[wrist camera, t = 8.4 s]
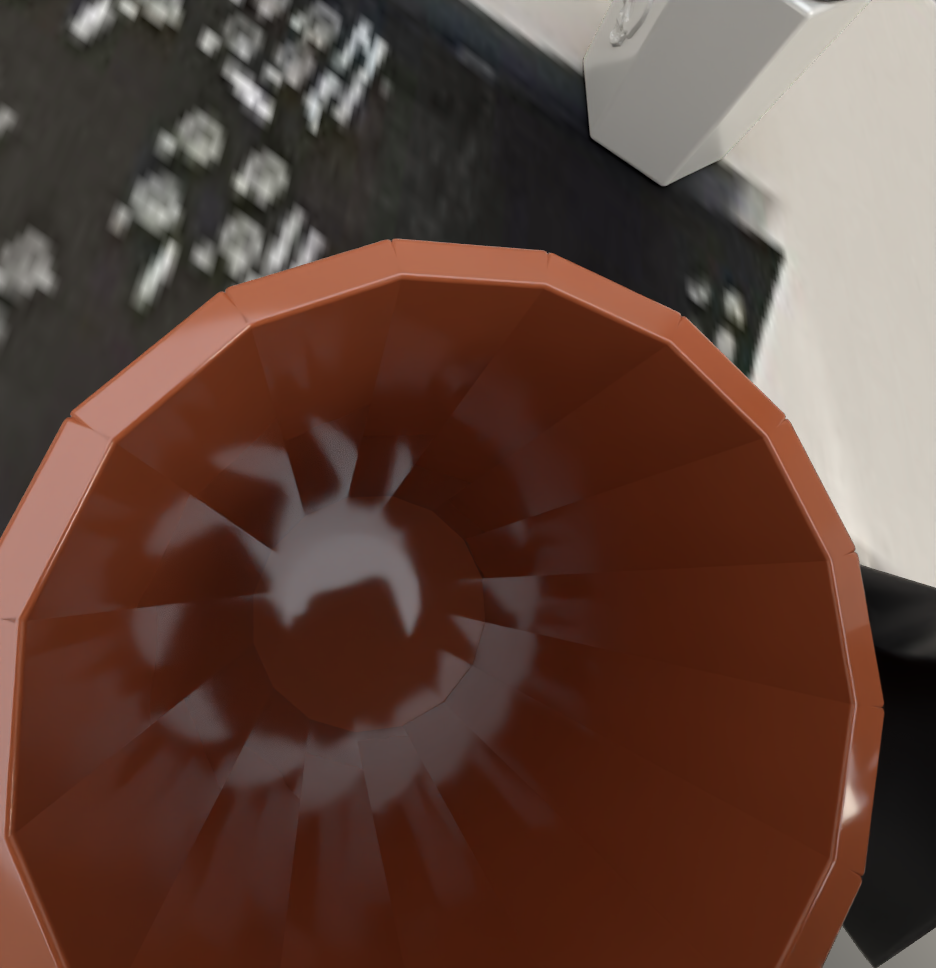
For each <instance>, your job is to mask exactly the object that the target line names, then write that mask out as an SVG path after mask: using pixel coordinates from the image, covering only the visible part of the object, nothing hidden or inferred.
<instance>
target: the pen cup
mask: <svg viewBox="0 0 936 968" xmlns="http://www.w3.org/2000/svg"><path fill="white" fill-rule="evenodd" d="M70 415H71V417H72V418H66V419H65V420H64V421H63V423H62V425H61V427H60V429H59V431H58V433H57V434H56V436H55V438H54V440H53V442H52V444H51V446H50V447H49V449H48V451H47V453H46V455H45V457H44V458H43V460H42V462H41V464H40V466H39V468H38V470H37V471H36V473H35V475H34V477H33V479H32V481H31V483H30V484H29V486H28V488H27V490H26V492H25V494H24V496H23V497H22V499H21V501H20V503H19V505H18V507H17V508H16V510H15V512H14V514H13V516H12V518H11V520H10V521H9V523H8V525H7V527H6V529H5V531H4V533H3V534H2V536H1V538H0V968H822V967H823V965H824V963H825V961H826V959H827V956H828V954H829V952H830V950H831V948H832V946H833V944H834V942H835V939H836V937H837V935H838V933H839V931H840V929H841V927H842V925H843V923H844V920H845V918H846V916H847V914H848V912H849V910H850V908H851V906H852V903H853V901H854V899H855V897H856V895H857V893H858V891H859V889H860V886H861V884H862V878H861V877H860V876H863V875H864V874H865V868H866V860H867V852H868V844H869V836H870V828H871V820H872V812H873V804H874V796H875V788H876V780H877V771H878V763H879V755H880V747H881V739H882V731H883V723H884V715H885V712H884V709H883V708H881V707H883V706H884V697H883V692H882V686H881V680H880V675H879V669H878V664H877V658H876V653H875V647H874V641H873V636H872V630H871V625H870V619H869V613H868V608H867V602H866V597H865V591H864V586H863V580H862V574H861V569H860V563H859V558H858V554H857V553H856V552H854V551H855V546H854V544H853V542H852V540H851V538H850V536H849V534H848V532H847V530H846V528H845V526H844V524H843V522H842V521H841V519H840V517H839V515H838V513H837V511H836V509H835V507H834V505H833V503H832V501H831V499H830V497H829V496H828V494H827V492H826V490H825V488H824V486H823V484H822V482H821V480H820V478H819V476H818V474H817V472H816V471H815V469H814V467H813V465H812V463H811V461H810V459H809V457H808V455H807V453H806V451H805V449H804V447H803V446H802V444H801V442H800V440H799V438H798V436H797V434H796V432H795V430H794V428H793V426H792V424H791V422H790V421H789V420H788V419H785V418H786V416H785V414H784V413H783V412H782V411H781V410H780V409H779V408H778V407H777V406H776V405H775V404H774V403H773V402H772V401H771V400H770V399H769V398H768V397H767V396H766V395H765V394H764V393H763V392H762V391H761V390H760V389H759V388H758V387H757V386H756V385H754V384H753V383H752V382H751V381H750V380H749V379H748V378H747V377H746V376H745V375H744V374H743V373H742V372H741V371H740V370H739V369H738V368H737V367H736V366H735V365H734V364H733V363H732V362H731V361H730V360H729V359H728V358H727V357H726V356H725V355H724V354H723V353H722V352H721V351H720V350H719V349H718V348H717V347H716V346H715V345H714V344H713V343H712V342H711V341H710V340H709V339H708V338H707V337H706V336H705V335H704V334H702V333H701V332H700V331H699V330H698V329H697V328H696V327H695V326H694V325H693V324H692V323H691V322H690V321H689V320H688V319H687V318H686V317H684V316H683V317H681V314H680V313H679V312H677V311H675V310H673V309H670V308H668V307H666V306H664V305H662V304H660V303H658V302H656V301H653V300H651V299H649V298H647V297H645V296H643V295H641V294H639V293H636V292H634V291H632V290H630V289H628V288H626V287H624V286H622V285H619V284H617V283H615V282H613V281H611V280H609V279H607V278H605V277H602V276H600V275H598V274H596V273H594V272H592V271H590V270H588V269H585V268H583V267H581V266H579V265H577V264H575V263H573V262H570V261H568V260H566V259H564V258H562V257H560V256H558V255H556V254H553V253H548V254H547V252H545V251H541V250H529V249H517V248H505V247H492V246H480V245H468V244H456V243H443V242H431V241H419V240H406V239H393V240H392V241H390V240H383V241H380V242H377V243H373V244H370V245H367V246H364V247H360V248H357V249H354V250H350V251H347V252H344V253H340V254H337V255H334V256H330V257H327V258H324V259H321V260H317V261H314V262H311V263H307V264H304V265H301V266H297V267H294V268H291V269H287V270H284V271H281V272H278V273H274V274H271V275H268V276H264V277H261V278H258V279H254V280H251V281H248V282H244V283H241V284H238V285H235V286H231V287H228V288H227V289H226V290H225V293H224V292H222V291H221V292H219V293H217V294H216V295H215V296H214V297H212V298H211V299H210V300H209V301H207V302H206V303H205V304H204V305H202V306H201V307H200V308H199V309H197V310H196V311H195V312H194V313H192V314H191V315H190V316H189V317H188V318H186V319H185V320H184V321H183V322H181V323H180V324H179V325H178V326H176V327H175V328H174V329H173V330H171V331H170V332H169V333H168V334H166V335H165V336H164V337H163V338H161V339H160V340H159V341H158V342H157V343H155V344H154V345H153V346H152V347H150V348H149V349H148V350H147V351H145V352H144V353H143V354H142V355H140V356H139V357H138V358H137V359H135V360H134V361H133V362H132V363H131V364H129V365H128V366H127V367H126V368H124V369H123V370H122V371H121V372H119V373H118V374H117V375H116V376H114V377H113V378H112V379H111V380H109V381H108V382H107V383H106V384H105V385H103V386H102V387H101V388H100V389H98V390H97V391H96V392H95V393H93V394H92V395H91V396H90V397H88V398H87V399H86V400H85V401H83V402H82V403H81V404H80V405H78V406H77V407H76V408H75V409H74V410H72V412H71V413H70Z"/></svg>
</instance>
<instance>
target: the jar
mask: <svg viewBox="0 0 936 968" xmlns="http://www.w3.org/2000/svg"><path fill="white" fill-rule="evenodd" d="M871 1H872V0H612V2H611V4H610V6H609V8H608V10H607V12H606V14H605V16H604V18H603V20H602V22H601V24H600V26H599V28H598V30H597V32H596V34H595V36H594V38H593V40H592V42H591V44H590V46H589V48H588V50H587V52H586V54H585V56H584V59H583V66H584V76H585V87H586V98H587V109H588V119H589V131H590V137H591V138H592V139H593V140H594V141H596V142H597V143H599V144H600V145H602V146H603V147H605V148H606V149H608V150H609V151H610V152H612V153H613V154H615V155H616V156H618V157H619V158H621V159H622V160H624V161H625V162H627V163H628V164H630V165H631V166H632V167H634V168H635V169H637V170H638V171H640V172H641V173H643V174H644V175H646V176H647V177H649V178H650V179H651V180H653V181H654V182H656V183H657V184H659V185H660V186H667V185H669V184H671V183H673V182H675V181H677V180H679V179H681V178H683V177H685V176H687V175H689V174H692V173H694V172H696V171H698V170H700V169H702V168H704V167H706V166H708V165H710V164H712V163H714V162H716V161H718V160H721V159H722V158H724V157H725V156H726V155H727V154H728V153H729V152H730V150H731V149H732V148H733V147H734V146H735V145H736V144H737V143H738V142H739V141H740V140H741V139H742V138H743V137H744V136H745V135H746V133H747V132H748V131H749V130H750V129H751V128H752V127H753V126H754V125H755V124H756V123H757V122H758V121H759V120H760V119H761V118H762V116H763V115H764V114H765V113H766V112H767V111H768V110H769V109H770V108H771V107H772V106H773V105H774V104H775V103H776V102H777V101H778V99H779V98H780V97H781V96H782V95H783V94H784V93H785V92H786V91H787V90H788V89H789V88H790V87H791V86H792V85H793V84H794V82H795V81H796V80H797V79H798V78H799V77H800V76H801V75H802V74H803V73H804V72H805V71H806V70H807V69H808V68H809V67H810V65H811V64H812V63H813V62H814V61H815V60H816V59H817V58H818V57H819V56H820V55H821V54H822V53H823V52H824V51H825V50H826V48H827V47H828V46H829V45H830V44H831V43H832V42H833V41H834V40H835V39H836V38H837V37H838V36H839V35H840V34H841V32H842V31H843V30H844V29H845V28H846V27H847V26H848V25H849V24H850V23H851V22H852V21H853V20H854V19H855V18H856V17H857V15H858V14H859V13H860V12H861V11H862V10H863V9H864V8H865V7H866V6H867V5H868V4H869V3H870V2H871Z"/></svg>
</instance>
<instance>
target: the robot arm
mask: <svg viewBox="0 0 936 968" xmlns="http://www.w3.org/2000/svg"><path fill="white" fill-rule="evenodd" d="M860 569H861V574H862V580H863V586H864V591H865V597H866V602H867V608H868V613H869V619H870V625H871V630H872V636H873V641H874V647H875V653H876V658H877V664H878V669H879V675H880V680H881V686H882V692H883V697H884V706H883V707H881V708H883V709H884V712H885V715H884V723H883V731H882V739H881V747H880V755H879V763H878V771H877V780H876V788H875V796H874V804H873V812H872V820H871V828H870V836H869V844H868V852H867V860H866V868H865V874H864V875H863V876H860V877H861V878H862V884H861V886H860V889H859V891H858V893H857V895H856V897H855V899H854V901H853V903H852V906H851V908H850V910H849V912H848V914H847V916H846V918H845V920H844V923H843V925H842V926H843V928H844V929H845V930H846V932H847V933H848V935H849V936H850V937H851V939H852V940H853V942H854V943H855V944H856V946H857V947H858V949H859V950H860V951H861V953H862V954H863V955H864V956H865V958H866V959H867V960H868V961H869V963H870V964H871V965H872V967H874V968H877V967H879V966H880V965H882V964H883V963H885V962H886V961H888V960H889V959H890V958H892V957H893V956H895V955H896V954H898V953H899V952H901V951H902V950H904V949H905V948H906V947H908V946H909V945H911V944H912V943H914V942H915V941H917V940H918V939H920V938H921V937H922V936H924V935H925V934H927V933H928V932H930V931H931V930H933V929H934V928H936V588H935V587H931V586H928V585H925V584H922V583H918V582H915V581H912V580H908V579H905V578H902V577H899V576H895V575H892V574H889V573H885V572H882V571H879V570H876V569H872V568H869V567H866V566H863V565H860Z"/></svg>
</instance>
